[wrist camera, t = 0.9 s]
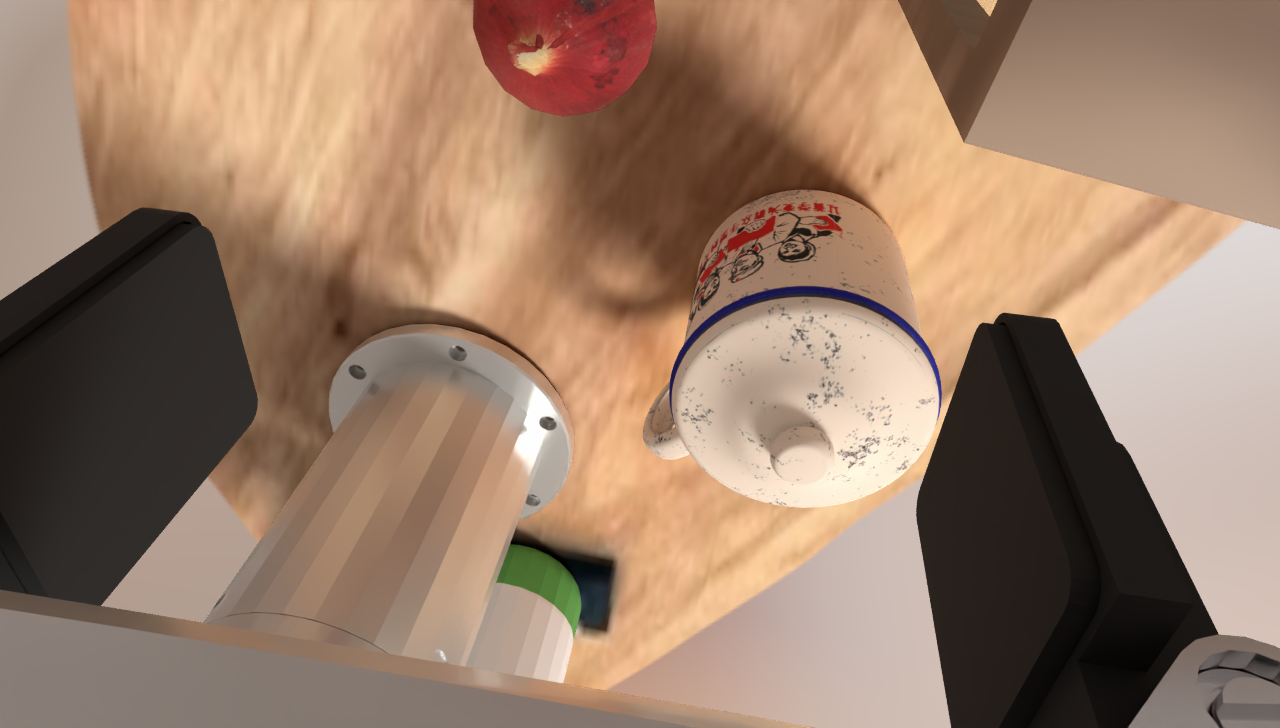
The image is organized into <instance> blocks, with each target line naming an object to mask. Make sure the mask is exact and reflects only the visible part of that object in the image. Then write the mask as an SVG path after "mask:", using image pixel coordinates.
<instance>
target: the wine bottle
mask: <svg viewBox="0 0 1280 728" xmlns="http://www.w3.org/2000/svg"><path fill="white" fill-rule="evenodd" d="M580 611H581V598H580V593H579V588H578V585H577V583H576V582H575V580H574V578H573V576H572V574H571V573H570V572H569V571H568V570H567V569H566V568H565V567H564V566H563V565H562V564H561V563H560V562H558V561H557V560H555V559H554V558H553V557H551V556H550V555H548V554H546V553H543V552H541V551H539V550H536V549H534V548H530V547H526V546H522V545H513V544H510V545H509V548H508V551H507V554H506V556H505V559H504V562H503V565H502V567H501V570H500V573H499V576H498V578H497V581H496V584H495V587H494V589H493V592H492V595H491V598H490V600H489V603H488V606H487V609H486V611H485V614H484V617H483V620H482V622H481V625H480V628H479V631H478V633H477V636H476V639H475V642H474V644H473V647H472V650H471V653H470V655H469V658H468V661H467V664H466V666H465V667H470V668H476V669H482V670H488V671H494V672H500V673H506V674H512V675H517V676H523V677H529V678H535V679H540V680H546V681H552V682H558V683H563V682H564V678H565V674H566V670H567V666H568V662H569V658H570V654H571V650H572V645H573V640H574V636H575V632H576V628H577V624H578V620H579V615H580Z"/></svg>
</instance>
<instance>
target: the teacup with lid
mask: <svg viewBox="0 0 1280 728" xmlns="http://www.w3.org/2000/svg"><path fill="white" fill-rule="evenodd" d="M941 396H942V391H941V380H940V376H939V371H938V368H937V365H936V362H935V359H934V357H933V355H932V353H931V351H930V349H929V348H928V346H927V345H926V343H925V342H924V340H923V337H922V333H921V328H920V324H919V320H918V315H917V311H916V307H915V302H914V298H913V294H912V290H911V285H910V281H909V277H908V272H907V268H906V264H905V259H904V256H903V253H902V250H901V247H900V245H899V243H898V241H897V239H896V238H895V236H894V235H893V233H892V231H891V230H890V229H889V227H888V226H887V225H886V224H885V223H884V222H883V221H882V220H881V219H880V218H879V217H878V216H877V215H876V214H875V213H873V212H872V211H871V210H870V209H868V208H866V207H865V206H863V205H862V204H860V203H858V202H856V201H854V200H852V199H850V198H847V197H844V196H842V195H838V194H835V193H831V192H825V191H820V190H790V191H783V192H778V193H774V194H771V195H767V196H764V197H762V198H759V199H757V200H754V201H752V202H750V203H748V204H746V205H745V206H743V207H742V208H740V209H738V210H737V211H736V212H734V213H733V214H732V215H730V216H729V217H728V218H727V219H726V220H725V221H724V222H723V223H722V224H721V225H720V226H719V227H718V228H717V230H716V231H715V232H714V234H713V235H712V236H711V238H710V240H709V241H708V243H707V245H706V247H705V249H704V251H703V254H702V256H701V260H700V263H699V267H698V273H697V278H696V283H695V289H694V294H693V299H692V305H691V310H690V315H689V321H688V326H687V331H686V337H685V342H684V345H683V347H682V349H681V350H680V352H679V354H678V357H677V359H676V361H675V364H674V367H673V370H672V374H671V379H670V381H669V383H668V384H667V385H666V386H665V387H664V388H663V390H662V391H661V392H660V394H659V395H658V397H657V398H656V400H655V401H654V403H653V405H652V406H651V408H650V410H649V412H648V415H647V417H646V420H645V423H644V427H643V439H644V442H645V444H646V446H647V447H648V448H649V449H650V450H651V451H652V452H653V453H654V454H655V455H657V456H658V457H661V458H663V459H677V458H681V457H684V456H687V455H689V454H690V455H691V456H692V457H693V459H694V460H695V461H696V462H697V463H698V464H699V465H700V466H701V467H702V468H703V469H704V470H705V471H706V472H707V473H708V474H709V475H710V476H712V477H713V478H714V479H716V480H717V481H718V482H720V483H721V484H723V485H725V486H726V487H728V488H730V489H732V490H734V491H735V492H738V493H740V494H742V495H744V496H747V497H750V498H752V499H755V500H758V501H762V502H766V503H770V504H775V505H780V506H788V507H824V506H831V505H837V504H842V503H846V502H850V501H853V500H856V499H859V498H862V497H865V496H867V495H870V494H872V493H874V492H876V491H878V490H880V489H882V488H883V487H885V486H887V485H888V484H890V483H892V482H893V481H894V480H896V479H897V478H898V477H900V476H901V475H902V474H903V473H904V472H905V471H907V470H908V469H909V468H910V466H911V465H912V464H913V463H914V462H915V461H916V460H917V459H918V457H919V456H920V455H921V453H922V452H923V451H924V449H925V448H926V446H927V444H928V443H929V441H930V439H931V436H932V434H933V432H934V429H935V426H936V423H937V420H938V417H939V413H940V407H941ZM674 424H675V426H676V427H675V428H673V429H672V427H673V425H674Z"/></svg>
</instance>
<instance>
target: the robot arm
mask: <svg viewBox="0 0 1280 728" xmlns="http://www.w3.org/2000/svg"><path fill="white" fill-rule="evenodd" d="M328 402H329V418H330V422H331V426H332V430H333V433H334V434H333V435H332V437H331V438H330V440H329V441H328V443H327V444H326V446H325V447H324V448H323V450H322V451H321V453H320V454H319V456H318V457H317V459H316V460H315V462H314V463H313V464H312V466H311V467H310V469H309V470H308V472H307V473H306V475H305V476H304V477H303V479H302V480H301V482H300V483H299V485H298V486H297V488H296V489H295V490H294V492H293V493H292V495H291V496H290V498H289V499H288V501H287V502H286V504H285V505H284V506H283V508H282V509H281V511H280V512H279V514H278V515H277V517H276V518H275V519H274V521H273V522H272V524H271V525H270V527H269V528H268V530H267V531H266V533H265V534H264V535H263V537H262V538H261V540H260V541H259V543H258V544H257V546H256V547H255V548H254V550H253V551H252V553H251V554H250V556H249V557H248V559H247V560H246V562H245V563H244V564H243V566H242V567H241V569H240V570H239V572H238V573H237V575H236V576H235V577H234V579H233V580H232V582H231V583H230V585H229V586H228V588H227V589H226V591H225V592H224V593H223V595H222V596H221V598H220V599H219V601H218V602H217V603H216V605H215V606H214V608H213V609H212V611H211V612H210V614H209V615H208V617H207V618H206V620H205V621H204V622H203V623H202V622H196V621H190V620H184V619H177V618H171V617H165V616H159V615H153V614H147V613H140V612H134V611H128V610H122V609H116V608H110V607H103V606H101V605H102V604H103V602H104V601H105V600H106V599H107V598H108V596H109V595H110V594H111V593H112V592H113V590H114V589H115V588H116V587H117V586H118V584H119V583H120V582H121V581H122V579H123V578H124V577H125V576H126V575H127V573H128V572H129V571H130V570H131V569H132V567H133V566H134V565H135V564H136V562H137V561H138V560H139V559H140V558H141V556H142V555H143V554H144V553H145V552H146V550H147V549H148V548H149V547H150V546H151V544H152V543H153V542H154V541H155V539H156V538H157V537H158V536H159V534H161V532H162V531H163V530H164V529H165V527H166V526H167V525H168V524H169V523H170V521H171V520H172V519H173V518H174V516H175V515H176V514H177V513H178V512H179V510H180V509H181V508H182V507H183V506H184V504H185V503H186V502H187V501H188V500H189V498H190V497H191V496H192V495H193V494H194V492H195V491H196V490H197V489H198V488H199V486H200V485H201V484H202V483H203V481H204V480H205V479H206V478H207V477H208V475H209V474H210V473H211V472H212V471H213V469H214V468H215V467H216V466H217V465H218V463H219V462H220V461H221V460H222V458H223V457H224V456H225V455H226V454H227V452H228V451H229V450H230V449H231V448H232V446H233V445H234V444H235V443H236V442H237V440H238V439H239V438H240V437H241V436H242V434H243V433H244V432H245V431H246V429H247V428H248V427H249V426H250V424H251V423H252V421H253V420H254V417H255V415H256V411H257V404H258V399H257V393H256V390H255V386H254V382H253V379H252V375H251V371H250V368H249V364H248V361H247V357H246V353H245V350H244V346H243V342H242V339H241V335H240V331H239V328H238V324H237V321H236V317H235V313H234V310H233V306H232V302H231V299H230V295H229V291H228V288H227V284H226V280H225V277H224V273H223V270H222V266H221V262H220V259H219V255H218V251H217V248H216V244H215V240H214V238H213V235H212V233H211V232H210V231H209V230H208V229H207V228H206V227H204V226H202V225H201V223H200V222H199V220H198V219H197V218H196V217H195V216H194V215H192V214H190V213H185V212H177V211H169V210H161V209H153V208H140V209H137V210H135V211H133V212H132V213H130V214H129V215H127V216H126V217H124V218H123V219H121V220H120V221H118V222H117V223H115V224H114V225H112V226H111V227H109V228H108V229H106V230H105V231H103V232H102V233H100V234H99V235H97V236H96V237H94V238H93V239H91V240H90V241H88V242H87V243H85V244H84V245H82V246H81V247H79V248H78V249H77V250H75V251H73V252H72V253H71V254H69V255H68V256H66V257H65V258H63V259H61V260H60V261H59V262H57V263H56V264H54V265H53V266H51V267H50V268H48V269H47V270H45V271H44V272H42V273H41V274H39V275H38V276H36V277H35V278H33V279H32V280H30V281H29V282H27V283H26V284H24V285H23V286H21V287H20V288H18V289H17V290H15V291H14V292H12V293H11V294H9V295H8V296H6V297H5V298H3V299H2V300H0V728H813V727H808V726H802V725H797V724H792V723H787V722H781V721H776V720H771V719H765V718H759V717H754V716H748V715H742V714H737V713H730V712H725V711H719V710H714V709H707V708H702V707H696V706H691V705H685V704H679V703H673V702H667V701H662V700H656V699H650V698H644V697H639V696H632V695H627V694H621V693H615V692H610V691H604V690H598V689H592V688H587V687H581V686H575V685H569V684H564V683H558V682H552V681H546V680H540V679H535V678H529V677H523V676H517V675H512V674H506V673H500V672H494V671H488V670H482V669H476V668H470V667H465V666H466V664H467V661H468V658H469V655H470V653H471V650H472V647H473V644H474V642H475V639H476V636H477V633H478V631H479V628H480V625H481V622H482V620H483V617H484V614H485V611H486V609H487V606H488V603H489V600H490V598H491V595H492V592H493V589H494V587H495V584H496V581H497V578H498V576H499V573H500V570H501V567H502V565H503V562H504V559H505V556H506V554H507V551H508V548H509V545H510V543H511V540H512V537H513V534H514V532H515V529H516V526H517V523H518V521H519V520H521V519H524V518H526V517H528V516H530V515H532V514H534V513H536V512H538V511H540V510H541V509H543V508H544V507H545V506H546V505H547V504H549V503H550V502H551V501H552V500H553V499H554V498H555V497H556V495H557V494H558V493H559V491H560V490H561V488H562V487H563V486H564V483H565V480H566V478H567V475H568V473H569V470H570V467H571V463H572V459H573V454H574V432H573V428H572V424H571V420H570V416H569V413H568V411H567V409H566V408H565V406H564V404H563V402H562V400H561V398H560V396H559V394H558V393H557V392H556V390H555V389H554V388H553V386H552V385H551V384H550V382H549V381H548V380H547V379H546V377H545V376H544V375H543V374H541V373H540V372H539V371H538V370H537V369H536V368H535V367H534V366H533V365H532V364H531V363H530V362H529V361H527V360H526V359H525V358H523V357H522V356H520V355H519V354H517V353H516V352H514V351H513V350H511V349H510V348H508V347H507V346H505V345H503V344H501V343H499V342H496V341H494V340H492V339H490V338H488V337H486V336H484V335H481V334H478V333H475V332H471V331H468V330H465V329H462V328H458V327H451V326H444V325H438V324H410V325H405V326H400V327H395V328H390V329H387V330H385V331H382V332H380V333H378V334H376V335H373V336H371V337H369V338H368V339H366V340H365V341H364V342H362V343H361V344H360V345H358V346H357V347H356V348H355V349H354V350H353V351H352V352H351V354H350V355H349V356H348V357H347V358H346V360H345V361H344V362H343V363H342V365H341V366H340V368H339V370H338V371H337V373H336V375H335V377H334V378H333V381H332V384H331V388H330V392H329V396H328ZM916 510H917V511H916V512H917V514H916V516H917V524H918V530H919V537H920V542H921V548H922V554H923V560H924V566H925V572H926V579H927V585H928V591H929V596H930V603H931V608H932V614H933V621H934V627H935V633H936V639H937V645H938V651H939V656H940V662H941V668H942V674H943V681H944V686H945V693H946V698H947V705H948V711H949V716H950V722H951V728H1280V648H1277V647H1276V646H1272V645H1269V644H1266V643H1263V642H1259V641H1256V640H1253V639H1250V638H1247V637H1239V636H1228V635H1219V634H1218V632H1217V630H1216V628H1215V626H1214V624H1213V622H1212V620H1211V618H1210V616H1209V614H1208V612H1207V610H1206V608H1205V606H1204V604H1203V602H1202V599H1201V598H1200V595H1199V593H1198V591H1197V589H1196V587H1195V585H1194V583H1193V581H1192V579H1191V577H1190V575H1189V573H1188V571H1187V569H1186V567H1185V565H1184V563H1183V561H1182V559H1181V557H1180V555H1179V553H1178V551H1177V549H1176V547H1175V545H1174V543H1173V541H1172V539H1171V537H1170V535H1169V533H1168V531H1167V529H1166V527H1165V525H1164V523H1163V521H1162V519H1161V517H1160V514H1159V513H1158V511H1157V508H1156V507H1155V504H1154V502H1153V500H1152V498H1151V496H1150V494H1149V492H1148V490H1147V488H1146V486H1145V484H1144V482H1143V480H1142V478H1141V476H1140V474H1139V472H1138V470H1137V468H1136V466H1135V464H1134V462H1133V460H1132V458H1131V456H1130V454H1129V453H1128V451H1127V450H1126V448H1125V447H1124V446H1123V445H1122V444H1120V443H1118V442H1116V440H1115V438H1114V436H1113V434H1112V432H1111V430H1110V428H1109V426H1108V424H1107V422H1106V420H1105V417H1104V415H1103V413H1102V411H1101V409H1100V407H1099V405H1098V403H1097V401H1096V399H1095V397H1094V395H1093V393H1092V391H1091V388H1090V387H1089V385H1088V382H1087V380H1086V378H1085V376H1084V374H1083V372H1082V370H1081V368H1080V366H1079V364H1078V362H1077V360H1076V357H1075V355H1074V353H1073V351H1072V349H1071V347H1070V345H1069V343H1068V341H1067V339H1066V337H1065V335H1064V333H1063V331H1062V328H1061V326H1060V324H1059V323H1058V322H1057V321H1056V320H1055V319H1051V318H1043V317H1035V316H1026V315H1018V314H1010V313H1002V314H1000V315H999V316H998V317H997V319H996V320H995V322H994V324H989V323H982V324H980V325H979V326H978V328H977V330H976V332H975V334H974V337H973V340H972V343H971V345H970V348H969V351H968V354H967V357H966V360H965V362H964V365H963V368H962V371H961V374H960V377H959V379H958V382H957V385H956V388H955V391H954V394H953V396H952V399H951V402H950V405H949V408H948V411H947V413H946V416H945V419H944V422H943V425H942V428H941V430H940V433H939V436H938V439H937V442H936V445H935V447H934V450H933V453H932V456H931V459H930V462H929V464H928V467H927V470H926V473H925V476H924V479H923V481H922V484H921V487H920V490H919V494H918V499H917V509H916Z"/></svg>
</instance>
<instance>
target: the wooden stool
mask: <svg viewBox="0 0 1280 728" xmlns="http://www.w3.org/2000/svg"><path fill="white" fill-rule="evenodd" d="M898 1H899V3H900V5H901V8H902V10H903V12H904V14H905V16H906V18H907V21H908V23H909V25H910V27H911V29H912V31H913V33H914V36H915V38H916V40H917V42H918V44H919V46H920V49H921V51H922V53H923V55H924V57H925V59H926V62H927V64H928V66H929V68H930V70H931V72H932V74H933V77H934V79H935V81H936V83H937V85H938V87H939V90H940V92H941V94H942V96H943V98H944V100H945V103H946V105H947V107H948V109H949V111H950V113H951V116H952V118H953V120H954V122H955V124H956V126H957V128H958V131H959V133H960V135H961V137H962V139H963V141H964V143H967V144H971V145H974V146H978V147H982V148H985V149H989V150H993V151H996V152H1000V153H1004V154H1007V155H1011V156H1014V157H1018V158H1022V159H1025V160H1029V161H1033V162H1036V163H1040V164H1044V165H1047V166H1051V167H1055V168H1058V169H1062V170H1066V171H1069V172H1073V173H1076V174H1080V175H1084V176H1087V177H1091V178H1095V179H1098V180H1102V181H1106V182H1109V183H1113V184H1117V185H1120V186H1124V187H1128V188H1131V189H1135V190H1138V191H1142V192H1146V193H1149V194H1153V195H1157V196H1160V197H1164V198H1168V199H1171V200H1175V201H1179V202H1182V203H1186V204H1190V205H1193V206H1197V207H1200V208H1204V209H1208V210H1211V211H1215V212H1219V213H1222V214H1226V215H1230V216H1233V217H1237V218H1241V219H1244V220H1248V221H1252V222H1255V223H1259V224H1263V225H1266V226H1270V227H1273V228H1278V229H1280V0H998V1H997V3H996V5H995V7H994V10H993V12H992V14H991V16H990V17H989V15H988V14H987V13H986V12H985V10H984V9H983V8H982V7H981V5H980V4H979V3H978V2H977V1H976V0H898Z"/></svg>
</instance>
